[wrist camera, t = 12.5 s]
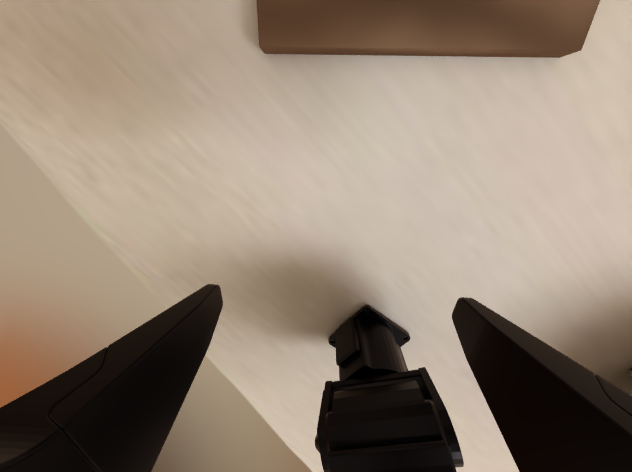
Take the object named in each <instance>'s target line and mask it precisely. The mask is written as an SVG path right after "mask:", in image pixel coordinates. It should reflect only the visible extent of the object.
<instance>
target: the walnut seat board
mask: <svg viewBox="0 0 632 472" xmlns="http://www.w3.org/2000/svg"><path fill="white" fill-rule="evenodd" d="M599 2H600V0H257V13H258V30H259V47H260V48H261V49H262V50H263V52H264V53H265V54H326V55H403V56H480V57H557V58H560V57H563V56H565V55H568V54H571V53H574V52H577V51H580V50H581V49H582V47H583V44H584V41H585V39H586V36H587V33H588V31H589V28H590V25H591V23H592V20H593V18H594V15H595V12H596V10H597V7H598V4H599Z"/></svg>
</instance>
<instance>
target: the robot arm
mask: <svg viewBox="0 0 632 472" xmlns="http://www.w3.org/2000/svg"><path fill="white" fill-rule="evenodd" d="M222 306H223V300H222V295H221V289H220V286H219V285H214V284H208V285H206V286H204V287H202V288H201V289H199V290H198V291H196V292H194V293H193V294H191V295H190V296H188V297H186V298H185V299H183V300H182V301H180V302H178V303H177V304H175V305H173V306H172V307H170V308H169V309H167V310H165V311H164V312H162V313H161V314H159V315H157V316H156V317H154V318H152V319H151V320H150V321H148V322H146V323H144V324H143V325H141V326H140V327H138V328H136V329H135V330H133V331H131V332H130V333H128V334H127V335H125V336H123V337H122V338H120V339H119V340H117V341H115V342H114V343H112V344H110V345H109V346H108V348H107V347H106V348H104V349H102V350H101V351H99V352H97V353H96V354H94V355H93V356H91V357H89V358H88V359H86V360H84V361H83V362H81V363H79V364H78V365H76V366H74V367H73V368H71V369H69V370H68V371H66V372H64V373H62V374H60V375H59V376H57V377H55V378H53V379H52V380H50V381H48V382H46V383H45V384H43V385H41V386H39V387H37V388H36V389H34V390H32V391H30V392H28V393H26V394H25V395H23V396H21V397H19V398H18V399H16V400H14V401H12V402H10V403H8V404H7V405H5V406H3V407H1V408H0V472H151V471H152V469H153V466H154V465H155V462H156V460H157V458H158V456H159V454H160V451H161V449H162V447H163V445H164V443H165V441H166V439H167V436H168V434H169V432H170V430H171V428H172V426H173V423H174V421H175V419H176V417H177V415H178V412H179V410H180V408H181V406H182V404H183V402H184V399H185V397H186V395H187V393H188V391H189V389H190V386H191V384H192V382H193V380H194V378H195V376H196V373H197V371H198V369H199V367H200V365H201V363H202V360H203V358H204V356H205V354H206V352H207V349H208V347H209V345H210V342H211V339H212V336H213V333H214V330H215V327H216V324H217V321H218V318H219V315H220V312H221V309H222ZM365 310H369V311H365ZM452 320H453V323H454V325H455V328H456V331H457V334H458V337H459V339H460V342H461V345H462V348H463V351H464V353H465V356H466V359H467V361H468V363H469V365H470V368H471V370H472V372H473V374H474V376H475V378H476V380H477V382H478V385H479V387H480V389H481V391H482V393H483V395H484V397H485V399H486V401H487V404H488V406H489V408H490V410H491V412H492V414H493V416H494V418H495V420H496V423H497V425H498V427H499V429H500V431H501V433H502V435H503V437H504V439H505V442H506V444H507V446H508V448H509V450H510V452H511V454H512V456H513V459H514V461H515V463H516V465H517V467H518V469H519V471H520V472H632V396H631V395H629V394H627V393H626V392H624V391H622V390H621V389H619V388H617V387H616V386H614V385H612V384H611V383H609V382H608V381H606V380H604V379H603V378H601V377H600V376H598V375H594V373H593V372H591V371H590V370H588V369H586V368H585V367H583V366H582V365H580V364H578V363H577V362H575V361H573V360H572V359H570V358H569V357H567V356H565V355H564V354H562V353H560V352H559V351H557V350H556V349H554V348H552V347H551V346H549V345H547V344H546V343H544V342H543V341H541V340H539V339H538V338H536V337H534V336H533V335H531V334H530V333H528V332H526V331H525V330H523V329H521V328H520V327H518V326H517V325H515V324H513V323H512V322H510V321H508V320H507V319H505V318H504V317H502V316H500V315H499V314H497V313H495V312H494V311H492V310H491V309H489V308H487V307H486V306H484V305H482V304H481V303H479V302H478V301H476V300H474V299H472V298H464V297H461V298H459V299H458V301H457V303H456V306H455V308H454V310H453V313H452ZM332 340H334V341H332ZM409 340H410V336H409V334H408V333H407V332H406V331H404V330H403V329H402V328H400V327H399V326H397V325H396V324H395V323H393V322H392V321H390V320H389V319H387V318H386V317H385V316H383V315H382V314H380V313H379V312H378V311H376V310H375V309H373V308H372V307H370V306H368V305H366V306H364V307H362V308H361V309H360V310H359V311H358V312H357V313H356V314H355V315H353V316H352V317H351V318H349V319H348V320H347V321H346V322H345V323H343V324H342V325H341V326H340V327H339V328H338V329H337V330H336V331H335V333H333V334H332V335H331V336H330V337H329V344H330V345H332V346H333V347H335V348H336V363H337V365H338V366H339V377H340V381H334V382H332V381H326V383H325V389H324V391H323V396H322V402H321V408H320V415H319V421H318V427H317V435H316V438H315V447H316V449H317V450H318V451H319V453H320V455H321V461H322V466H323V470H324V472H456V469H455V467H463V465H464V463H463V458H462V454H461V450H460V446H459V443H458V440H457V437H456V434H455V431H454V428H453V425H452V423H451V420H450V417H449V415H448V413H447V410H446V408H445V406H444V404H443V402H442V400H441V398H440V396H439V394H438V392H437V390H436V388H435V386H434V384H433V382H432V380H431V378H430V376H429V374H428V372H427V370H426V368H425V367H423V368H418V370H411V371H408V369H407V366H406V363H405V360H404V357H403V354H402V351H401V348H400V347H401V346H403V345H404V344H405V343H406V342H408V341H409Z"/></svg>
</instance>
